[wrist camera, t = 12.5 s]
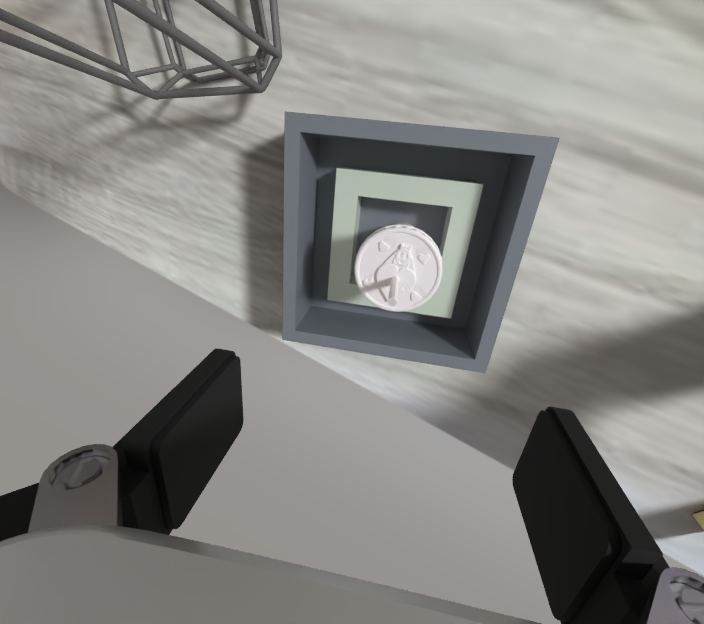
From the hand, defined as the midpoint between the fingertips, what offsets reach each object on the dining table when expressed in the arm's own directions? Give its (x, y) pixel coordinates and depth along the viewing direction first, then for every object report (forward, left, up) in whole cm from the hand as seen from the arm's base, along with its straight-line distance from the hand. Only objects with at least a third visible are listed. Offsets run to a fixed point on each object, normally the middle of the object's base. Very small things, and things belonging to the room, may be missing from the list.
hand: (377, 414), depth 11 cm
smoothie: (0, 0, -25) cm, 25 cm away
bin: (0, 0, -26) cm, 26 cm away
